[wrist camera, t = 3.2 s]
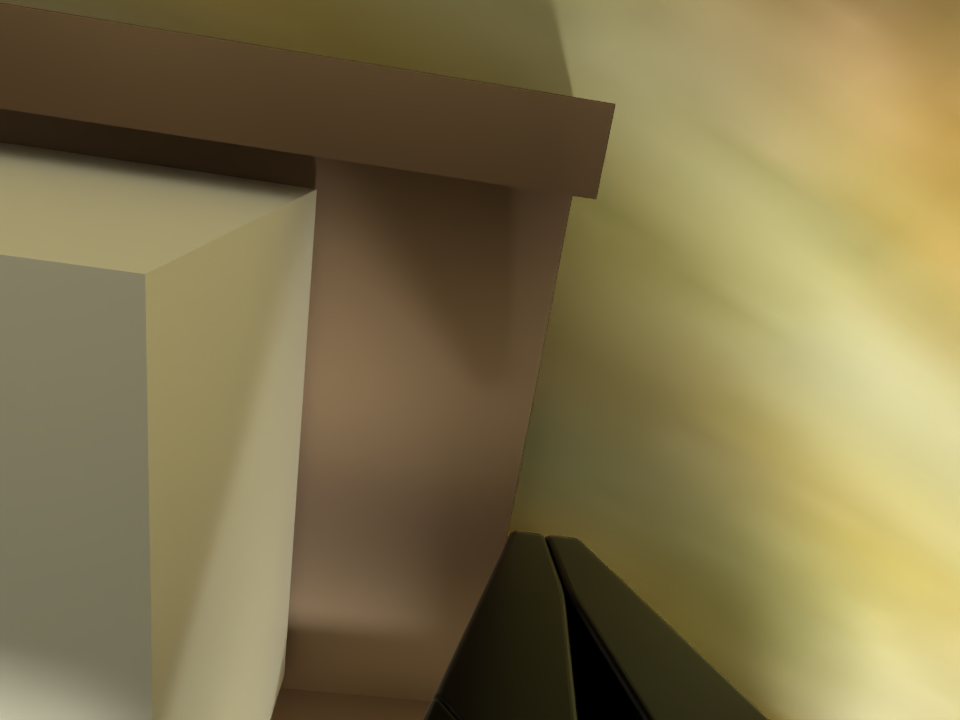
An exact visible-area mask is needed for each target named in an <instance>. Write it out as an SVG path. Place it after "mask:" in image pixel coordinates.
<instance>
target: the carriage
mask: <svg viewBox="0 0 960 720" xmlns="http://www.w3.org/2000/svg"><path fill="white" fill-rule="evenodd" d="M316 195H317V189H313V188H306V187H300V186H293V185H286V184H279V183H273V182H266V181H259V180H252V179H246V178H239V177H232V176H226V175H219V174H212V173H205V172H199V171H192V170H185V169H178V168H172V167H165V166H158V165H152V164H145V163H138V162H131V161H125V160H118V159H111V158H104V157H98V156H91V155H84V154H78V153H71V152H64V151H57V150H51V149H44V148H37V147H30V146H24V145H17V144H10V143H3V142H0V720H270V719H271V716H272V713H273V710H274V706H275V703H276V700H277V697H278V694H279V690H280V687H281V684H282V681H283V678H284V672H285V657H286V642H287V627H288V613H289V598H290V583H291V568H292V553H293V538H294V523H295V508H296V493H297V478H298V464H299V449H300V434H301V419H302V404H303V389H304V374H305V359H306V344H307V329H308V314H309V300H310V285H311V270H312V255H313V240H314V225H315V210H316Z"/></svg>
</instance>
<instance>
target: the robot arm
mask: <svg viewBox="0 0 960 720" xmlns="http://www.w3.org/2000/svg"><path fill="white" fill-rule="evenodd" d="M422 720H769V719H768V718H767V717H766V716H765V715H764V714H763V713H762V712H761V711H760V710H759V709H758V708H757V707H756V706H754V705H753V704H752V703H751V702H750V701H749V700H748V699H747V698H746V697H745V696H744V695H743V694H742V693H741V692H740V691H739V690H738V689H736V688H735V687H734V686H733V685H732V684H731V683H730V682H729V681H728V680H727V679H726V678H725V677H724V676H723V675H722V674H721V673H720V672H718V671H717V670H716V669H715V668H714V667H713V666H712V665H711V664H710V663H709V662H708V661H707V660H706V659H705V658H704V657H703V656H702V655H700V654H699V653H698V652H697V651H696V650H695V649H694V648H693V647H692V646H691V645H690V644H689V643H688V642H687V641H686V640H685V639H684V638H682V637H681V636H680V635H679V634H678V633H677V632H676V631H675V630H674V629H673V628H672V627H671V626H670V625H669V624H668V623H667V622H666V621H664V620H663V619H662V618H661V617H660V616H659V615H658V614H657V613H656V612H655V611H654V610H653V609H652V608H651V607H650V606H649V605H648V604H646V603H645V602H644V601H643V600H642V599H641V598H640V597H639V596H638V595H637V594H636V593H635V592H634V591H633V590H632V589H631V588H630V587H628V586H627V585H626V584H625V583H624V582H623V581H622V580H621V579H620V578H619V577H618V576H617V575H616V574H615V573H614V572H613V571H612V570H610V569H609V568H608V567H607V566H606V565H605V564H604V563H603V562H602V561H601V560H600V559H599V558H598V557H597V556H596V555H595V554H594V553H592V552H591V551H590V550H589V549H588V548H587V547H586V546H585V545H584V544H583V543H582V542H581V541H579V540H578V539H576V538H571V537H562V536H553V535H549V536H547V537H546V538H544V536H543V535H541V534H536V533H528V532H519V531H514V532H512V533H511V534H510V536H509V538H508V540H507V542H506V544H505V547H504V549H503V551H502V553H501V555H500V557H499V559H498V561H497V564H496V566H495V568H494V570H493V572H492V574H491V576H490V578H489V580H488V583H487V585H486V587H485V589H484V591H483V593H482V595H481V597H480V600H479V602H478V604H477V606H476V608H475V610H474V612H473V614H472V616H471V619H470V621H469V623H468V625H467V627H466V629H465V631H464V633H463V636H462V638H461V640H460V642H459V644H458V646H457V648H456V650H455V652H454V655H453V657H452V659H451V661H450V663H449V665H448V667H447V669H446V672H445V674H444V676H443V678H442V680H441V682H440V684H439V686H438V688H437V691H436V693H435V695H434V697H433V701H431V702H430V704H429V706H428V708H427V711H426V713H425V715H424V717H423V719H422Z"/></svg>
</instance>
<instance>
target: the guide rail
mask: <svg viewBox="0 0 960 720" xmlns="http://www.w3.org/2000/svg"><path fill="white" fill-rule="evenodd" d="M614 109H615V104H612V103H606V102H600V101H594V100H588V99H582V98H576V97H570V96H564V95H558V94H552V93H546V92H539V91H533V90H527V89H521V88H515V87H509V86H503V85H497V84H491V83H485V82H479V81H473V80H466V79H460V78H454V77H448V76H442V75H436V74H430V73H424V72H418V71H412V70H406V69H400V68H393V67H387V66H381V65H375V64H369V63H363V62H357V61H351V60H345V59H339V58H333V57H327V56H320V55H314V54H308V53H302V52H296V51H290V50H284V49H278V48H272V47H266V46H260V45H253V44H247V43H241V42H235V41H229V40H223V39H217V38H211V37H205V36H199V35H193V34H187V33H180V32H174V31H168V30H162V29H156V28H150V27H144V26H138V25H132V24H126V23H120V22H114V21H107V20H101V19H95V18H89V17H83V16H77V15H71V14H65V13H59V12H53V11H47V10H41V9H34V8H28V7H22V6H16V5H10V4H4V3H0V142H3V143H10V144H17V145H24V146H30V147H37V148H44V149H51V150H57V151H64V152H71V153H78V154H84V155H91V156H98V157H104V158H111V159H118V160H125V161H131V162H138V163H145V164H152V165H158V166H165V167H172V168H178V169H185V170H192V171H199V172H205V173H212V174H219V175H226V176H232V177H239V178H246V179H252V180H259V181H266V182H273V183H279V184H286V185H293V186H300V187H306V188H313V189H317V195H316V210H315V225H314V240H313V255H312V270H311V285H310V300H309V314H308V329H307V344H306V359H305V374H304V389H303V404H302V419H301V434H300V449H299V464H298V478H297V493H296V508H295V523H294V538H293V553H292V568H291V583H290V598H289V613H288V627H287V642H286V657H285V672H284V678H283V681H282V684H281V687H280V690H279V694H278V697H277V700H276V703H275V706H274V710H273V713H272V716H271V719H270V720H422V719H423V717H424V715H425V713H426V711H427V708H428V706H429V704H430V702H431V701H433V697H434V695H435V693H436V691H437V688H438V686H439V684H440V682H441V680H442V678H443V676H444V674H445V672H446V669H447V667H448V665H449V663H450V661H451V659H452V657H453V655H454V652H455V650H456V648H457V646H458V644H459V642H460V640H461V638H462V636H463V633H464V631H465V629H466V627H467V625H468V623H469V621H470V619H471V616H472V614H473V612H474V610H475V608H476V606H477V604H478V602H479V600H480V597H481V595H482V593H483V591H484V589H485V587H486V585H487V583H488V580H489V578H490V576H491V574H492V572H493V570H494V568H495V566H496V564H497V561H498V559H499V557H500V555H501V553H502V551H503V549H504V547H505V544H506V539H507V534H508V529H509V524H510V518H511V513H512V508H513V503H514V498H515V492H516V487H517V482H518V477H519V472H520V466H521V461H522V456H523V451H524V445H525V440H526V435H527V430H528V425H529V419H530V414H531V409H532V404H533V398H534V393H535V388H536V383H537V378H538V372H539V367H540V362H541V357H542V351H543V346H544V341H545V336H546V331H547V325H548V320H549V315H550V310H551V305H552V299H553V294H554V289H555V284H556V278H557V273H558V268H559V263H560V258H561V252H562V247H563V242H564V237H565V231H566V226H567V221H568V216H569V211H570V205H571V200H572V196H578V197H584V198H591V199H596V198H597V193H598V188H599V183H600V178H601V173H602V168H603V163H604V158H605V153H606V149H607V144H608V139H609V134H610V129H611V124H612V119H613V114H614Z"/></svg>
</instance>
